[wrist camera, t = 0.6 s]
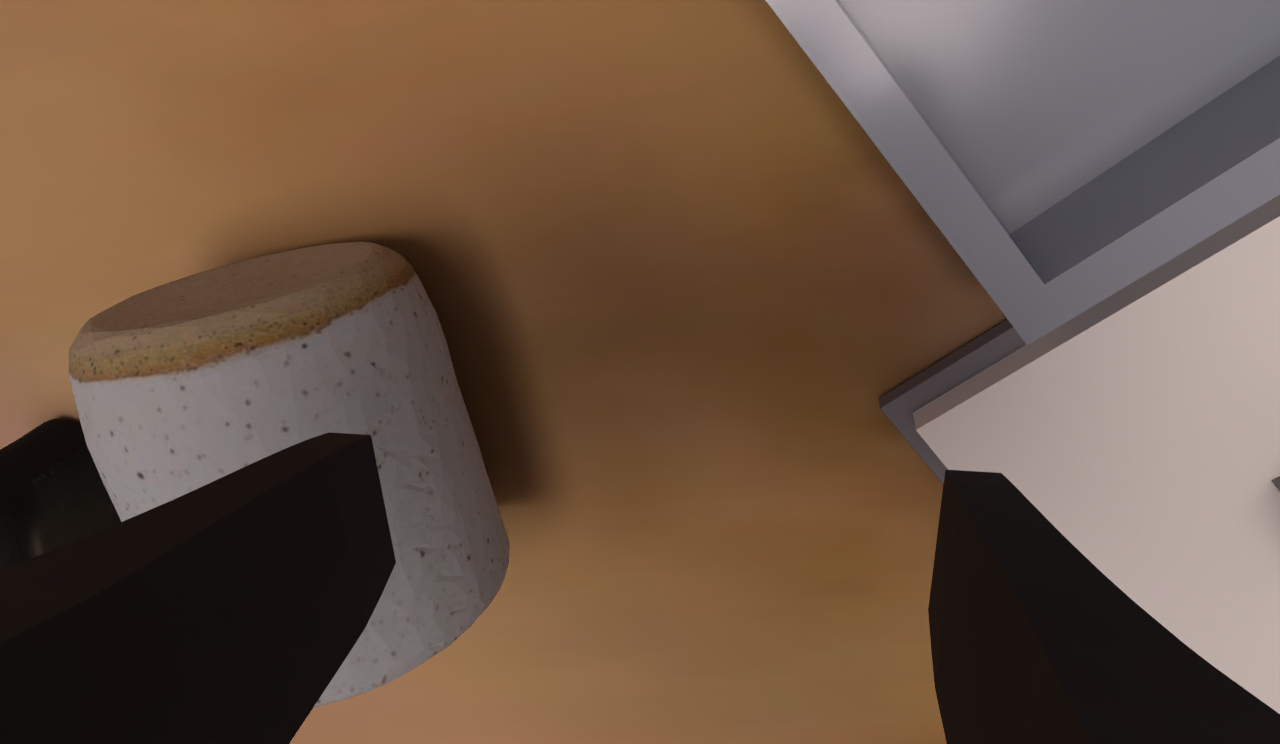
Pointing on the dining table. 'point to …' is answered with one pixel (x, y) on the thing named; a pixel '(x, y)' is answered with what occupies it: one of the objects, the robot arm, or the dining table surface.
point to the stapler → (50, 492)
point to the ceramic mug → (305, 419)
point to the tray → (1061, 129)
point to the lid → (1155, 442)
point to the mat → (946, 384)
